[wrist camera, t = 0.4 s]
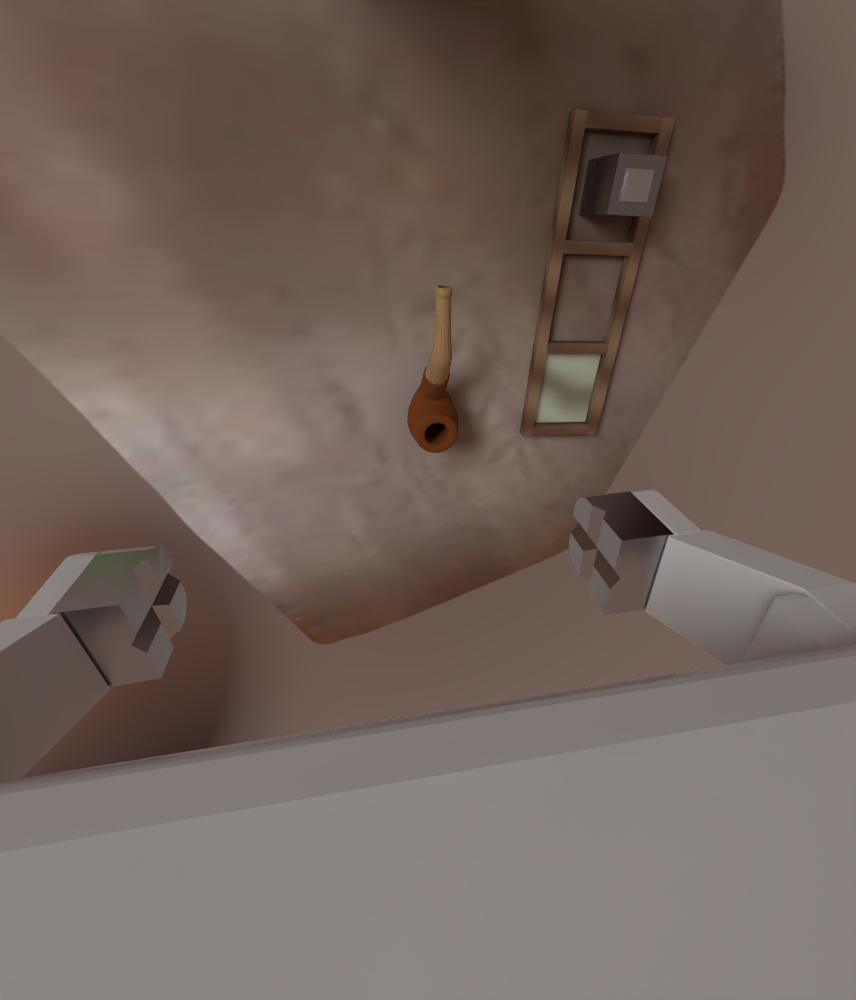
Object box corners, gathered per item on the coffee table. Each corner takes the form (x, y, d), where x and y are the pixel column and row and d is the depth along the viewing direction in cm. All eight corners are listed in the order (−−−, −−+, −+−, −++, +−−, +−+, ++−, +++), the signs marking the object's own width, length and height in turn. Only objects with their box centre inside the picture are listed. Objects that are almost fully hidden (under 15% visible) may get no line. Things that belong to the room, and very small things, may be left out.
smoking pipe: (453, 415, 57) (407, 422, 57) (442, 260, 43) (382, 270, 43) (464, 454, 52) (414, 462, 52) (455, 294, 38) (387, 305, 38)
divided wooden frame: (570, 111, 42) (575, 109, 41) (667, 120, 43) (675, 118, 42) (519, 432, 58) (522, 436, 57) (591, 430, 60) (595, 434, 59)
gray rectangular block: (588, 160, 44) (621, 152, 39) (631, 163, 45) (669, 156, 39) (578, 214, 46) (608, 214, 41) (619, 217, 47) (653, 216, 42)
